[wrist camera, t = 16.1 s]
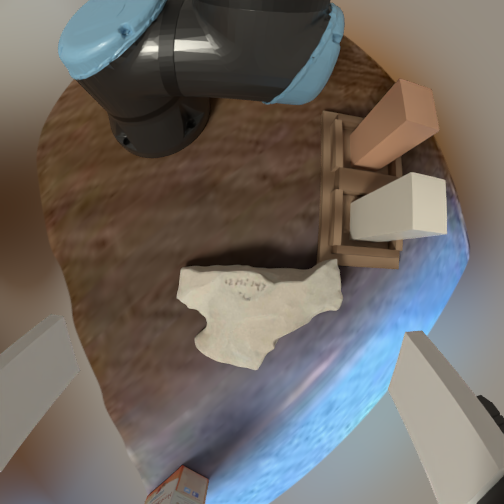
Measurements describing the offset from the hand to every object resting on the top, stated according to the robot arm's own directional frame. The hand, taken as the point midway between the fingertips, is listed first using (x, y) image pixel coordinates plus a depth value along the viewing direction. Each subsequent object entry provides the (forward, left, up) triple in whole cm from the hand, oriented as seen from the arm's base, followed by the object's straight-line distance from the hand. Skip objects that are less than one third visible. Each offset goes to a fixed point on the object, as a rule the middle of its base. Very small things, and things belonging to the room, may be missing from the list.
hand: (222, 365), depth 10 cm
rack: (-10, +19, -29) cm, 36 cm away
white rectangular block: (-5, +18, -28) cm, 33 cm away
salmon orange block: (-15, +21, -28) cm, 37 cm away
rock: (+4, +2, -30) cm, 30 cm away
